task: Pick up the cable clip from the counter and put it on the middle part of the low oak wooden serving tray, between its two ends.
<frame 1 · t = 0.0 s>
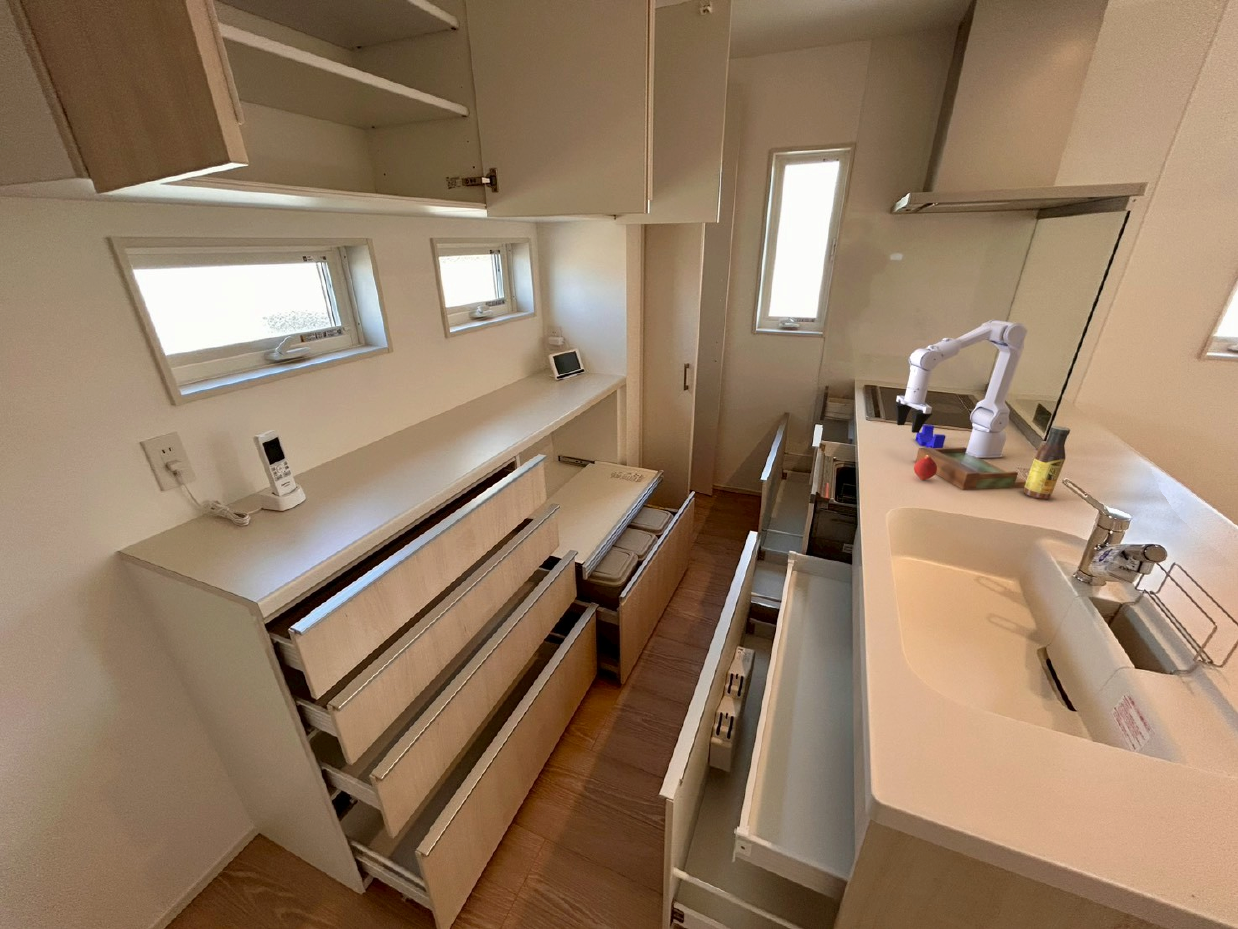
hand: (907, 428, 162), 10 cm above the counter, tool pointing down, fingers open, 7 cm apart
sauce bottle: (1036, 495, 140), on the counter
wooden serving tray: (967, 473, 154), on the counter
onion: (922, 480, 149), on the counter
cable clip: (927, 446, 176), on the counter
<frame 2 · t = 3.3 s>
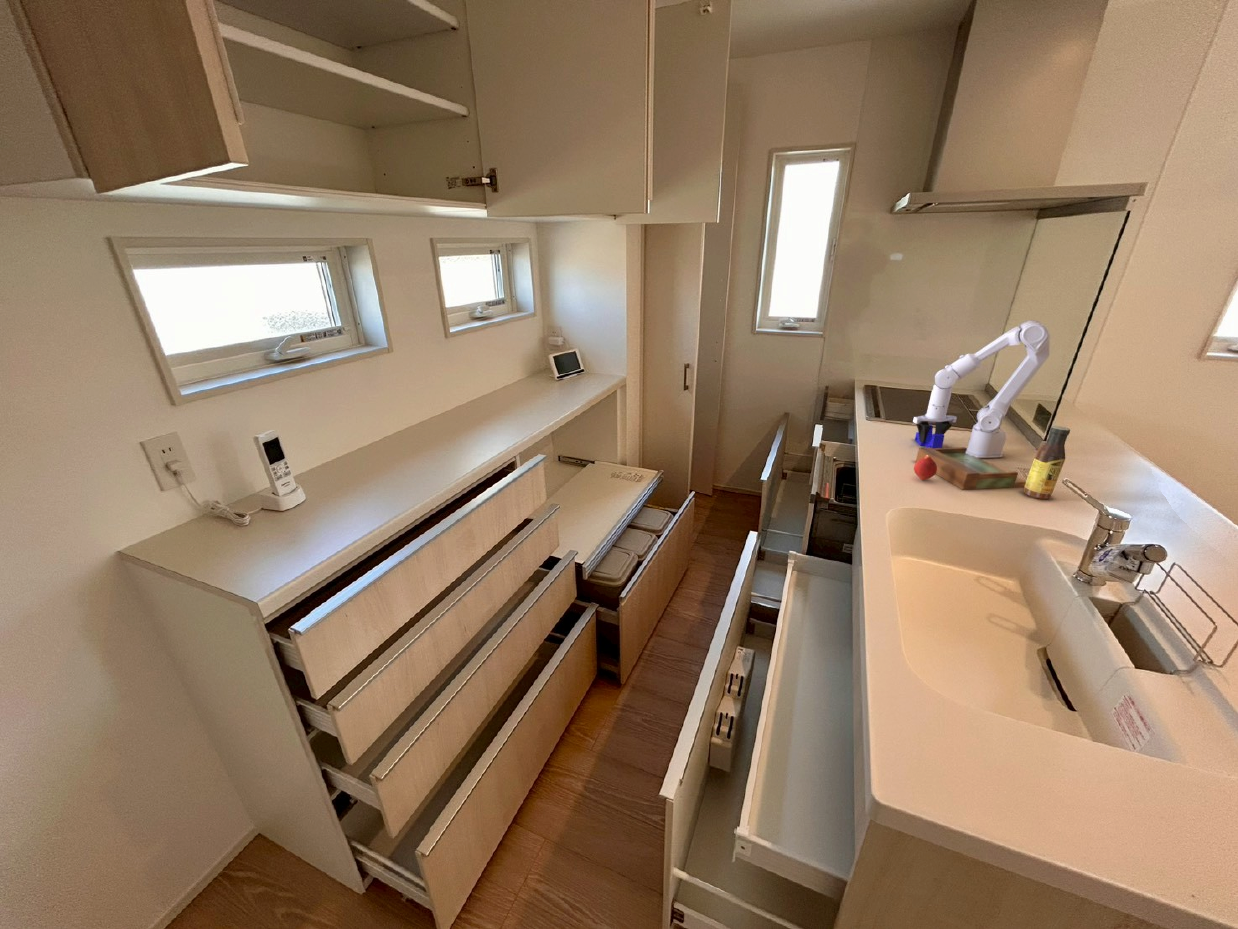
hand: (929, 441, 175), 2 cm above the counter, tool pointing down, fingers closed on cable clip, 5 cm apart
cable clip: (927, 446, 176), on the counter, touching gripper
everything else where it was.
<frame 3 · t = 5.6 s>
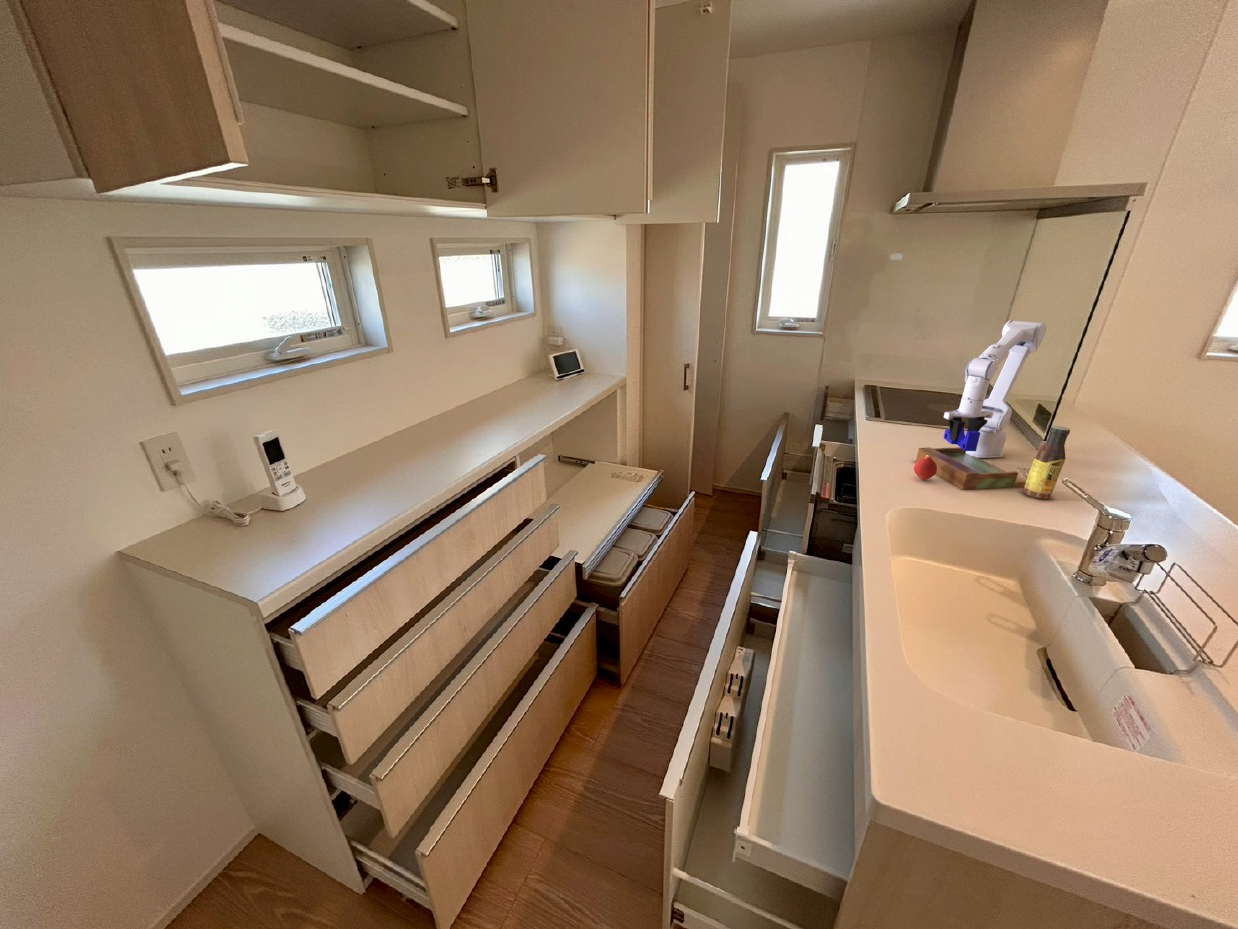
hand: (961, 440, 157), 8 cm above the counter, tool pointing down, fingers closed on cable clip, 5 cm apart
cable clip: (959, 444, 158), point 7 cm above the counter, touching gripper
everything else where it was.
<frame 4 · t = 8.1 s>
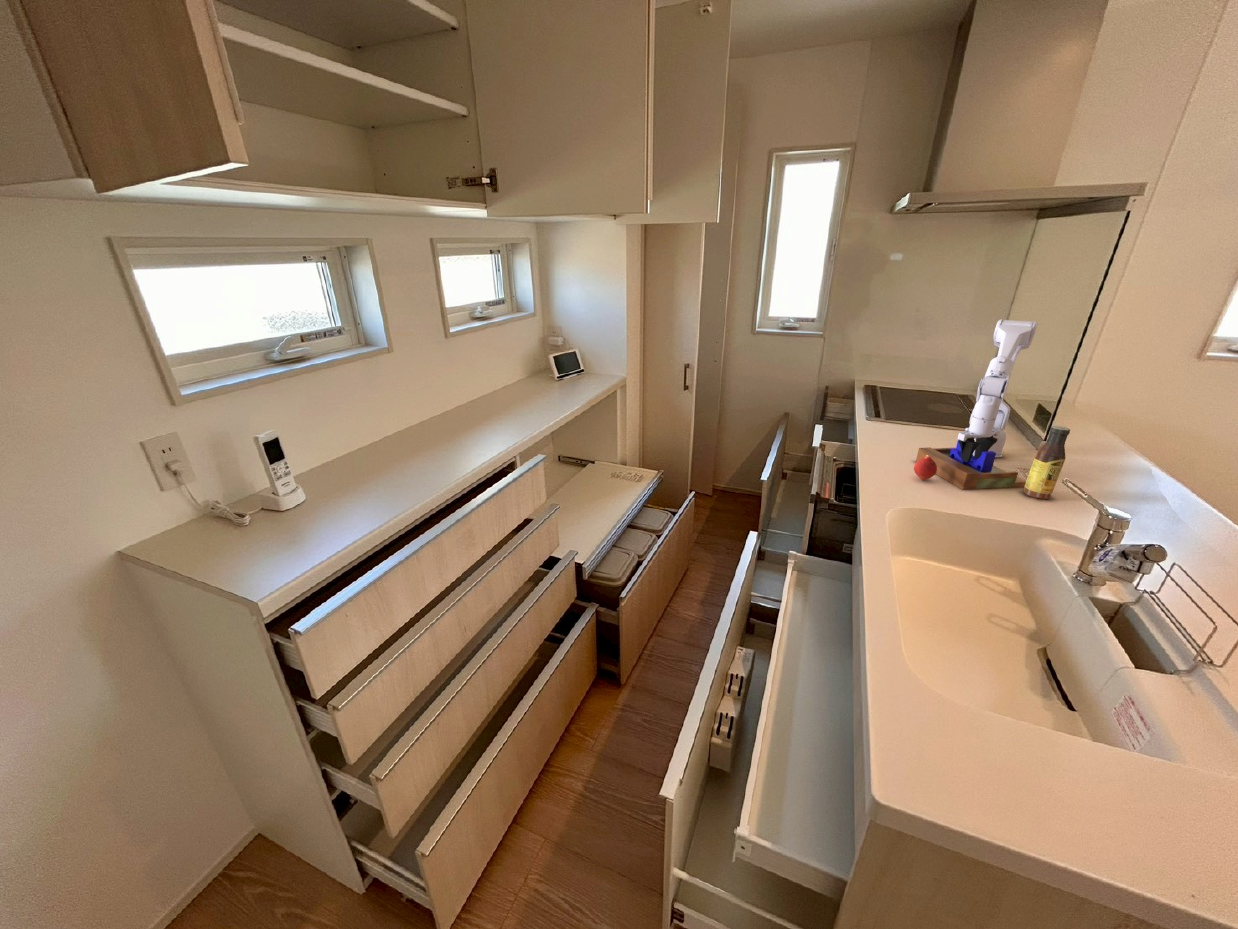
hand: (971, 460, 152), 5 cm above the counter, tool pointing down, fingers closed on cable clip, 5 cm apart
cable clip: (969, 464, 153), point 3 cm above the counter, touching gripper, wooden serving tray
everything else where it was.
when the fingers open (8 cm above the counter, at t = 10.6 s): cable clip stays where it is, resting on wooden serving tray.
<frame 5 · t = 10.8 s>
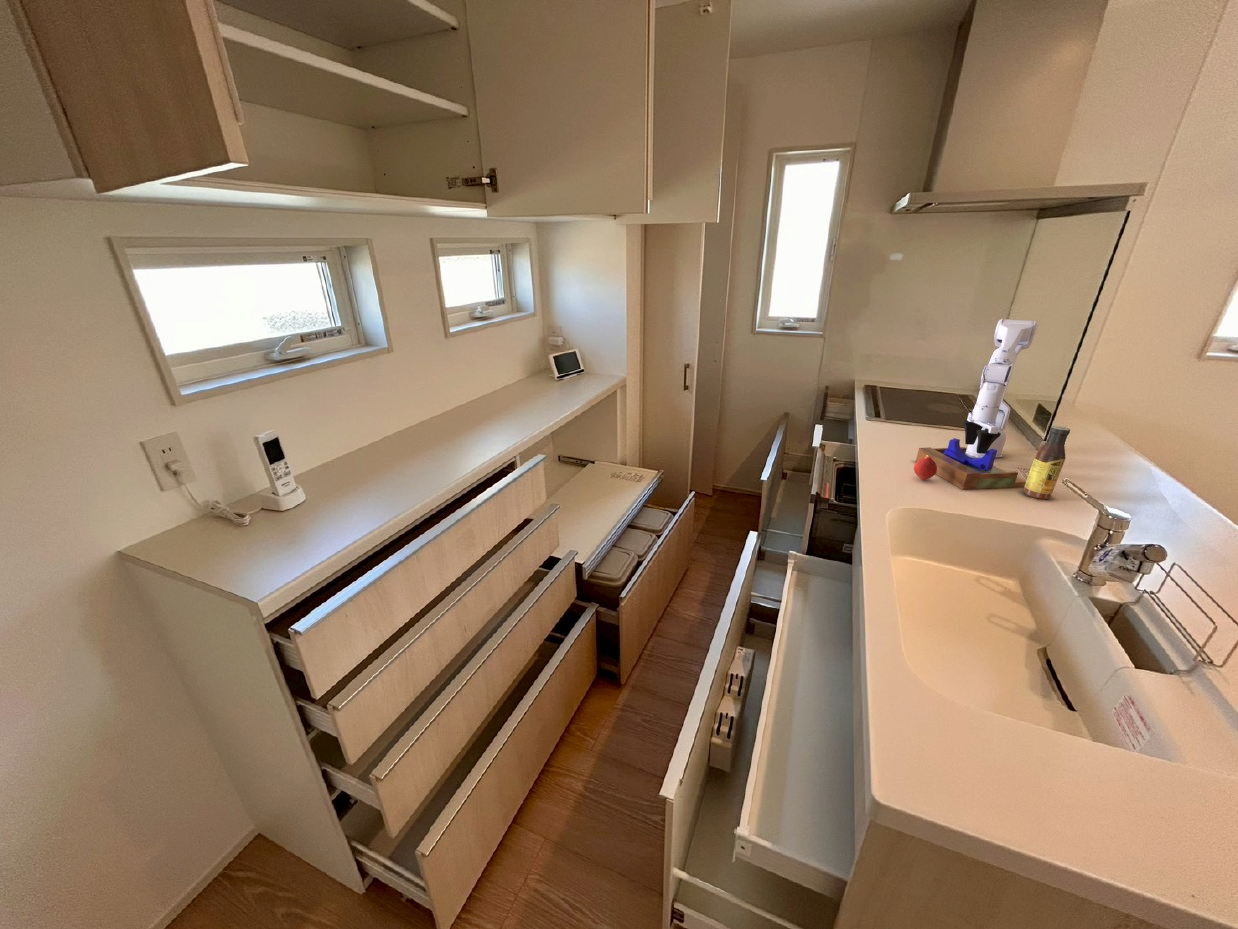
hand: (975, 448, 150), 8 cm above the counter, tool pointing down, fingers open, 7 cm apart
cable clip: (966, 464, 153), point 3 cm above the counter, touching gripper, wooden serving tray
everything else where it was.
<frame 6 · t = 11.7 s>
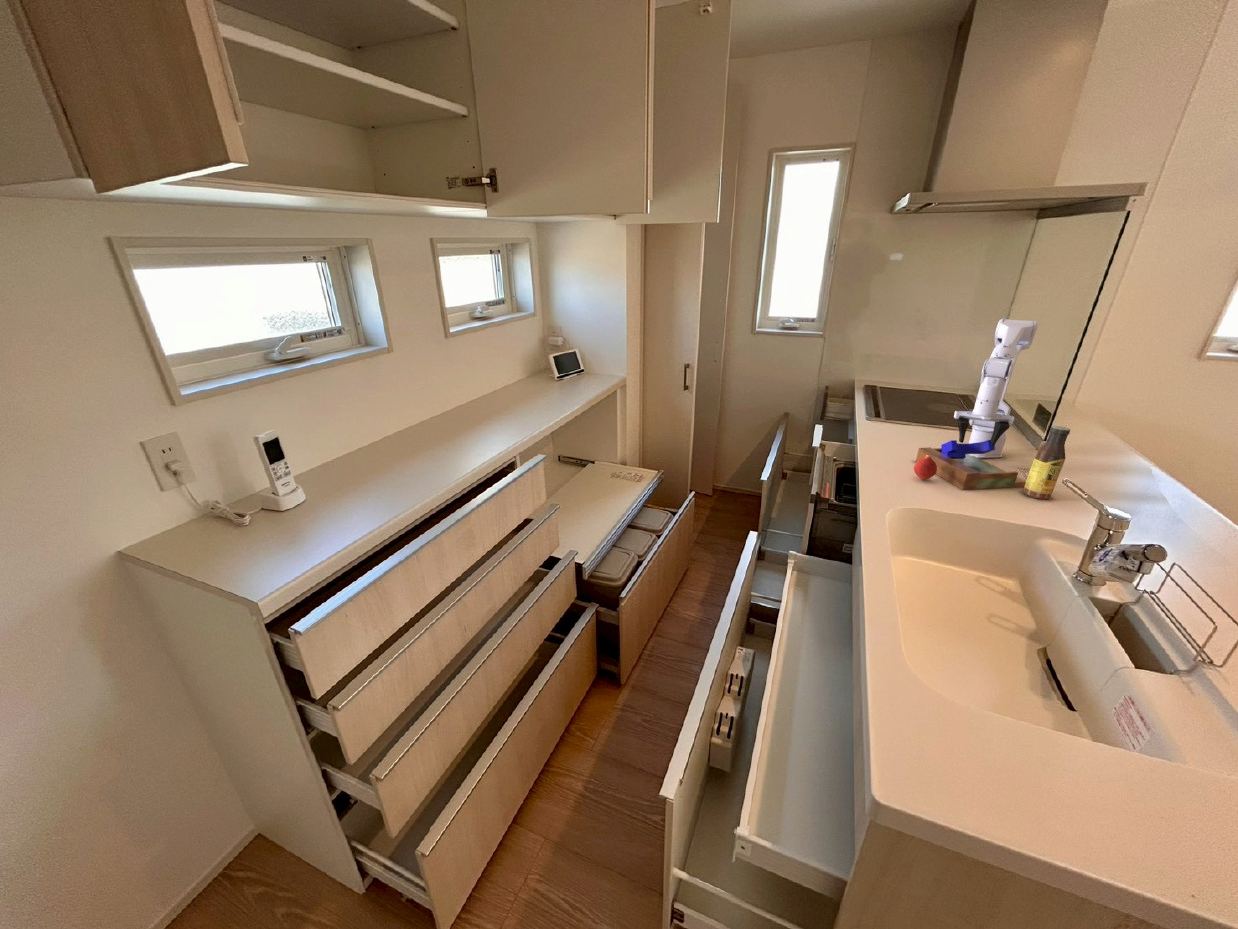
hand: (975, 443, 150), 10 cm above the counter, tool pointing down
cable clip: (961, 451, 156), point 5 cm above the counter, touching gripper, wooden serving tray
everything else where it was.
when the fingers open (10 cm above the counter, at t = 11.9 s): cable clip drops 3 cm, resting on wooden serving tray.
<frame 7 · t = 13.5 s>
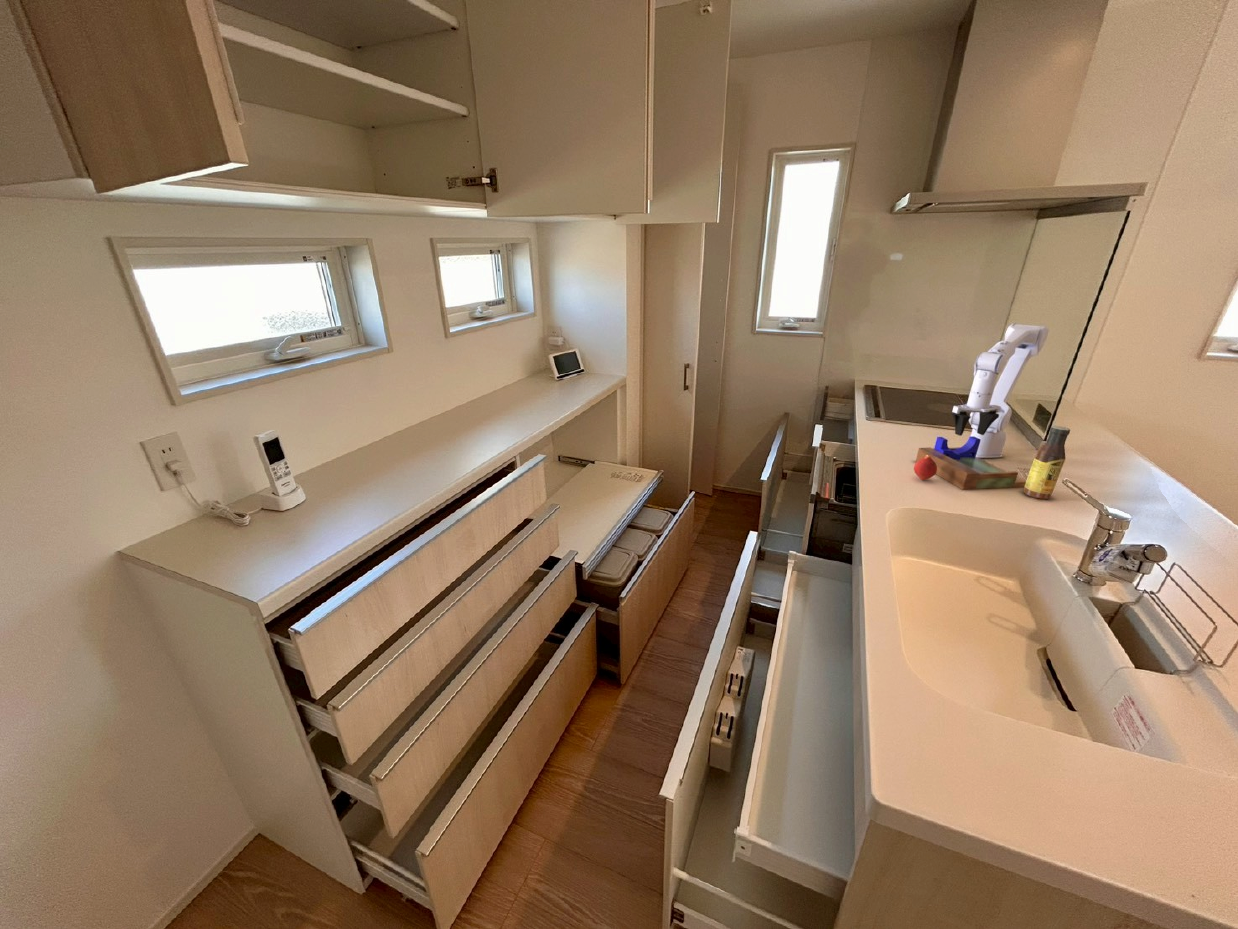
hand: (969, 434, 158), 10 cm above the counter, tool pointing down, fingers open, 7 cm apart
cable clip: (955, 457, 159), point 3 cm above the counter, touching wooden serving tray
everything else where it was.
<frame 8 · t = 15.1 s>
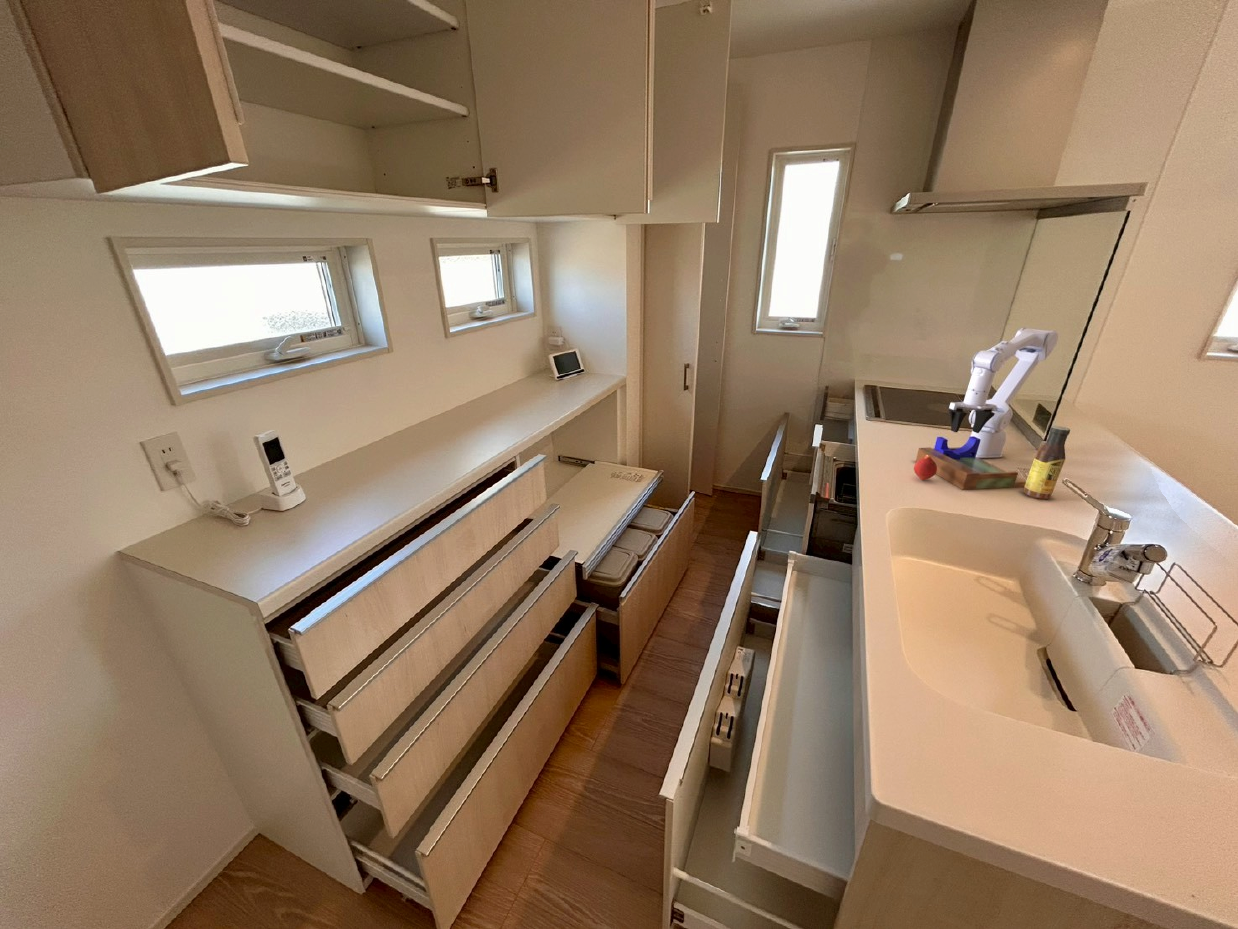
hand: (964, 431, 160), 10 cm above the counter, tool pointing down, fingers open, 7 cm apart
nothing on the counter moved.
at the end: cable clip inside the target area on the wooden serving tray (6.6 cm from its centre), point 2.8 cm above the wooden serving tray's base; the gripper is holding nothing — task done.
